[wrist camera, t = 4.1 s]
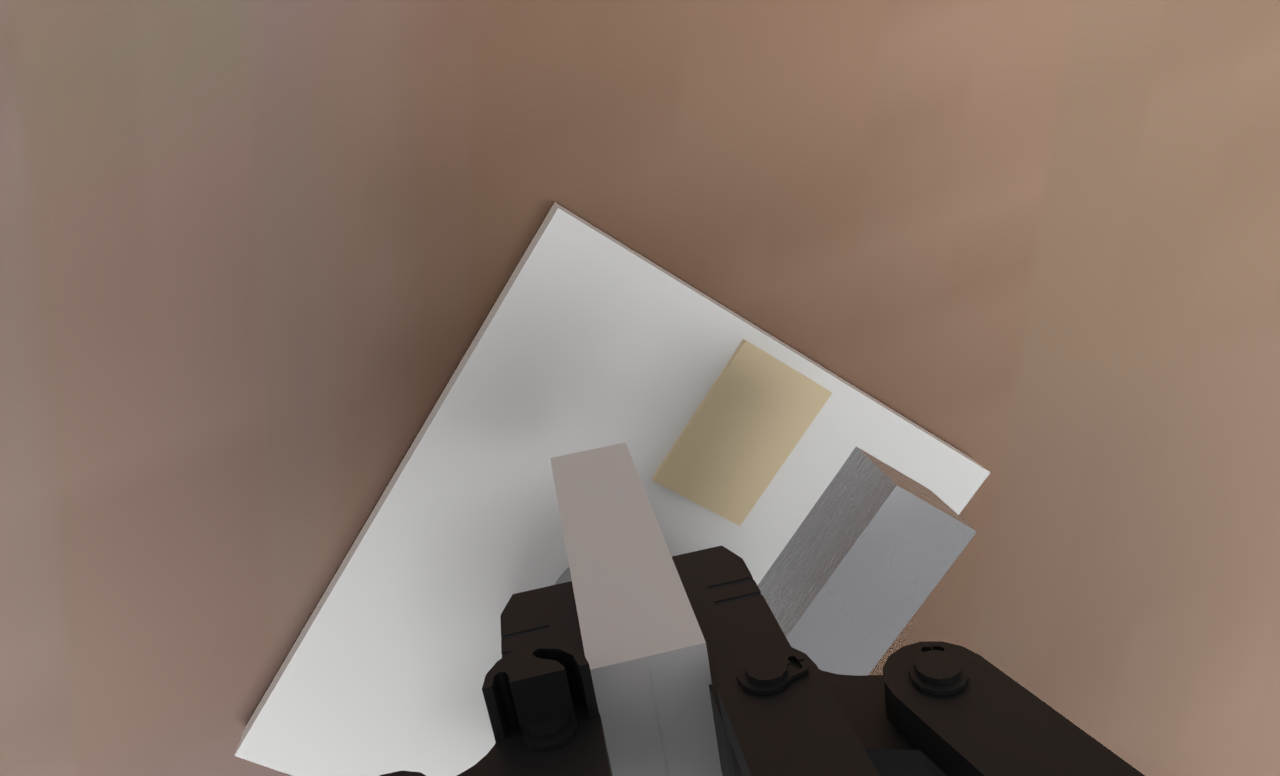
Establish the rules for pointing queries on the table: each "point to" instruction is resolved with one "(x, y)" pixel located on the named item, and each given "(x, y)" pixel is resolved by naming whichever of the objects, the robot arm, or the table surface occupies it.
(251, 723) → the lock base
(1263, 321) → the table surface
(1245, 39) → the table surface
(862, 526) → the knob
